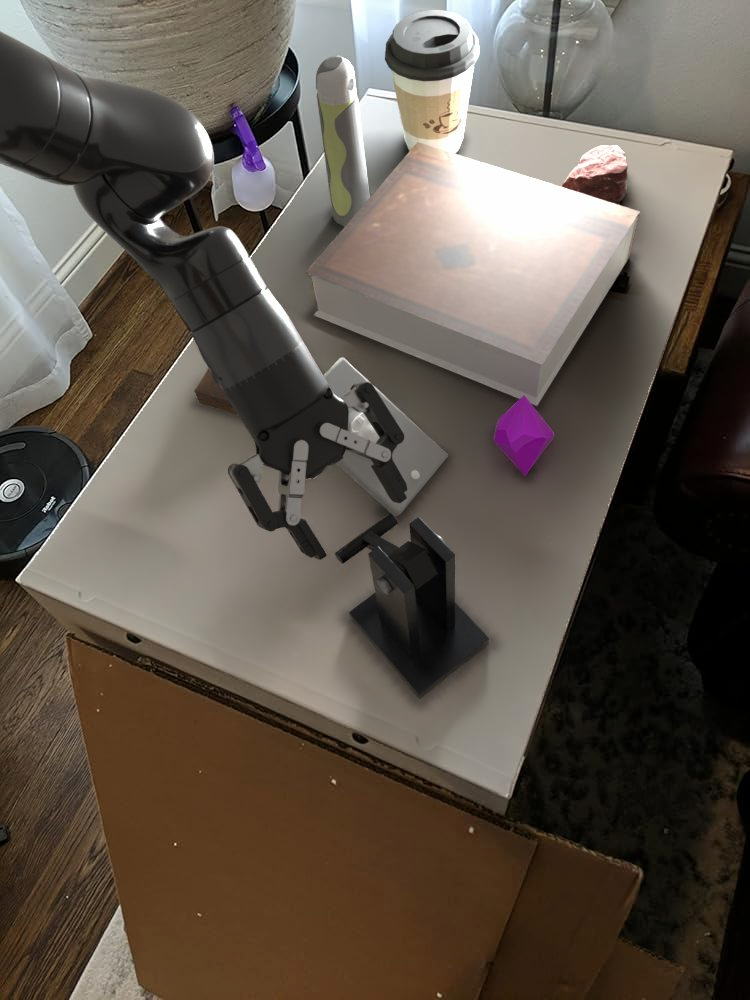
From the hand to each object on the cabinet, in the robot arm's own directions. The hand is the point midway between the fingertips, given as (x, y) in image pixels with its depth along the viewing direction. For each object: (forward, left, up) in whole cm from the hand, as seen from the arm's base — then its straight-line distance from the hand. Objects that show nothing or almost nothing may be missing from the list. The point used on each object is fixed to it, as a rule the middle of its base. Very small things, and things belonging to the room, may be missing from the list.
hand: (361, 528), depth 72 cm
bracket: (-4, -6, -9) cm, 12 cm away
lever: (-2, -4, +1) cm, 5 cm away
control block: (+17, +20, -9) cm, 28 cm away
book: (+38, +3, -9) cm, 40 cm away
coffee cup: (+61, +16, -9) cm, 64 cm away
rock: (+57, -6, -9) cm, 59 cm away
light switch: (+12, +5, -9) cm, 16 cm away
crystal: (+18, -9, -9) cm, 23 cm away
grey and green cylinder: (+45, +21, -9) cm, 51 cm away
